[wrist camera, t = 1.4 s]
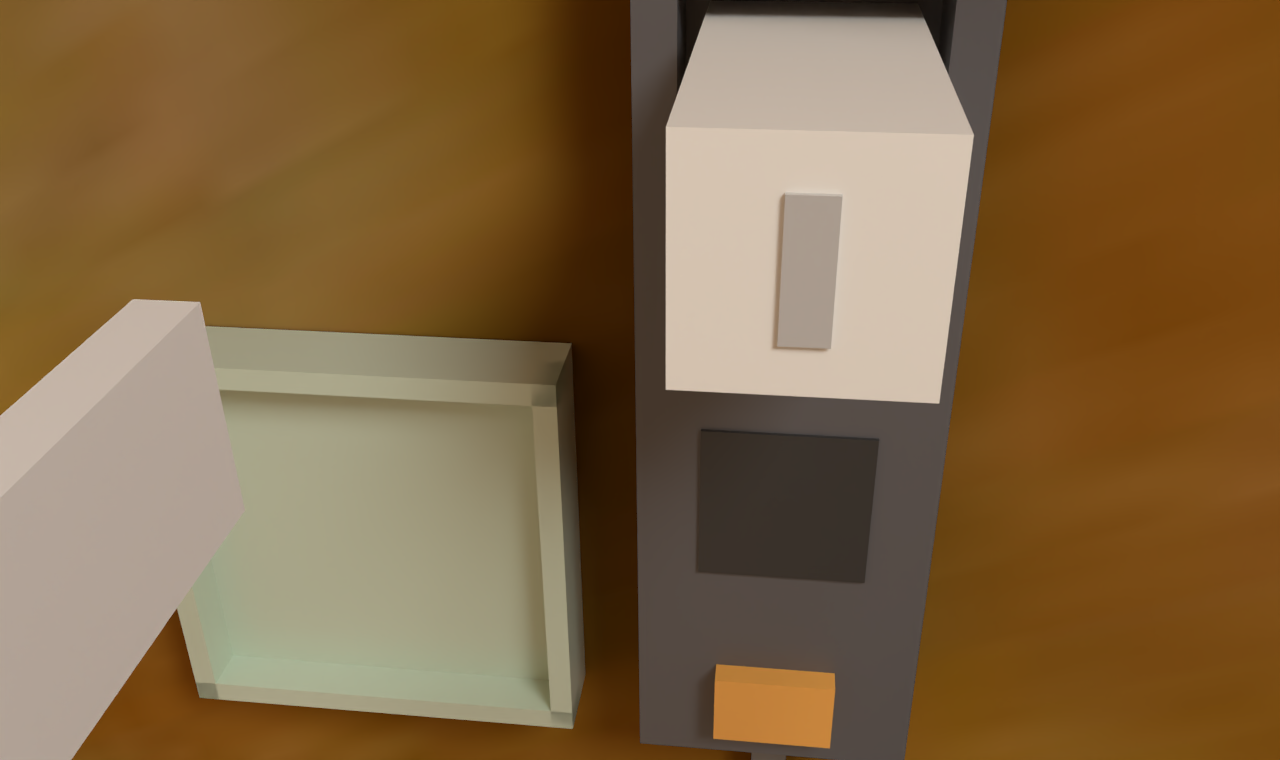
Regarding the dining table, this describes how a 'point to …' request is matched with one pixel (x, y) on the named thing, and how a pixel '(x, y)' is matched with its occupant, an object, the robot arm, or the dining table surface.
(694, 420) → the power strip
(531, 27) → the dining table surface
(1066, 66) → the dining table surface
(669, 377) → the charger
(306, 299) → the dining table surface
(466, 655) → the dish
